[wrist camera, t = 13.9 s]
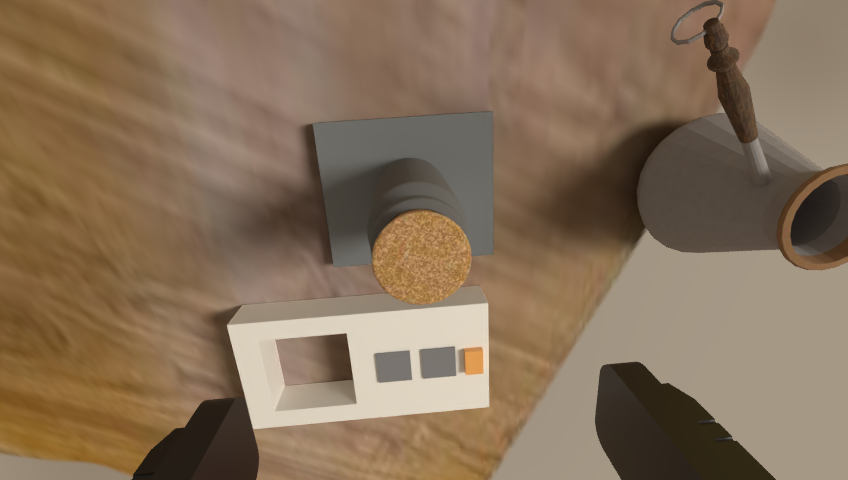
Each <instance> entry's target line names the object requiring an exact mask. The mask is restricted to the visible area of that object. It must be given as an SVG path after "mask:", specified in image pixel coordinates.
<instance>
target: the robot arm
mask: <svg viewBox="0 0 848 480" xmlns="http://www.w3.org/2000/svg"><path fill="white" fill-rule="evenodd" d="M595 425H596V431H597V435H598V438H599V441H600V443H601V445H602V448H603V450H604V451H605V453H606V455H607V456H608V458H609V459H610V461H611V463H612V465H613V466H614V468H615V470H616V471H617V473H618V475H619V476H620V478H621V480H776V479H775V478H774V477H773V476H772V475H771V474H770V473H769V472H768V471H767V470H766V469H765V468H764V467H763V466H762V465H761V464H759V462H758V461H757V460H756V459H754V458H753V456H752V455H750V454H749V453H748V452H747V451H746V450H745V449H744V448H743V447H742V446H741V445H740V444H739V443H738V442H737V441H734V440H733V439H732V436H731V435H730V434H729V433H728V432H727V431H726V430H725V429H724V428H723V427H722V426H721V425H720V424H719V423H716V422H715V419H714V418H713V417H712V416H711V415H710V414H709V413H708V412H707V411H706V410H705V409H704V408H703V407H702V406H701V405H700V404H699V403H698V402H697V401H696V400H695V399H694V398H692V397H690V396H689V395H687V394H685V393H684V392H682V391H680V390H679V389H677V388H675V387H674V386H672V385H670V384H669V383H666V384H661V383H660V382H659V381H658V380H657V379H656V378H655V377H654V376H653V374H652V373H651V372H650V371H649V370H648V369H647V368H646V367H645V366H644V365H643V364H641V363H639V362H628V363H618V364H607V365H603V366H602V368H601V370H600V376H599V386H598V396H597V406H596V415H595ZM258 465H259V453H258V448H257V444H256V440H255V436H254V432H253V428H252V424H251V420H250V416H249V412H248V408H247V405H246V402H245V400H244V399H243V398H242V397H235V398H224V399H213V400H205V401H203V402H202V403H201V404H200V405H199V407H198V408H197V410H196V411H195V413H194V414H193V416H192V417H191V419H190V420H189V422H188V423H187V425H186V426H185V428H176V429H175V430H173V431H172V432H171V433H170V434H169V435H168V436H166V437H165V438H164V439H163V440H162V441H161V442H160V443H158V444H157V445H156V446H155V447H154V448H153V449H151V450H150V452H149V453H148V455H147V456H146V458H145V459H144V460H143V462H142V463H141V465H140V466H139V467H138V469H137V470H136V472H135V473H134V474H133V479H132V480H256V478H257V473H258Z"/></svg>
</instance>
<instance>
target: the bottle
mask: <svg viewBox="0 0 848 480" xmlns="http://www.w3.org/2000/svg"><path fill="white" fill-rule="evenodd" d="M367 235H368V241H369V244H370V251H371V256H372V267H373V272H374V275H375V277H376V279H377V281H378V282H379V284H380V285H381V287H382V288H383V289H384V290H385V291H386V292H387V293H388V294H389V295H391V296H392V297H394V298H396V299H398V300H400V301H402V302H405V303H409V304H416V305H426V304H432V303H436V302H439V301H441V300H444V299H445V298H447V297H449V296H450V295H452V294H453V293H454V292H456V291H457V290H458V289H459V288H460V286H461V285H462V284H463V282H464V281H465V279H466V278H467V275H468V273H469V270H470V267H471V247H470V244H469V237H468V233H467V222H466V217H465V213H464V210H463V208H462V206H461V204H460V203H459V201H458V199H457V197H456V196H455V194H454V192H453V191H452V189H451V188H450V186H449V185H448V183H447V182H446V180H445V179H444V177H443V176H442V174H441V173H440V172H439V171H438V169H437V168H436V167H435V166H433V165H432V164H430V163H429V162H427V161H425V160H422V159H418V158H404V159H401V160H398V161H396V162H394V163H392V164H390V165H389V166H388V167H387V168H386V169H385V170H384V171H383V173H382V174H381V175H380V178H379V180H378V182H377V185H376V189H375V192H374V196H373V199H372V204H371V208H370V212H369V217H368V223H367Z"/></svg>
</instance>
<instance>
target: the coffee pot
mask: <svg viewBox="0 0 848 480" xmlns="http://www.w3.org/2000/svg"><path fill="white" fill-rule="evenodd" d="M714 4H716V5H718V6H720V7H721V8H720V13H719V14H718V16H717V17H716V18H711V19H709V20H707V21H706V22H705V23H704V25H703V28H704V30H703V31H702V32H701V33H699V34H697V35H696V36H694V37H692V38H690V39H687V40H676V39H675V38H674V35H675V31H676V30H677V28H678V26H679V25H680V23H681V22H682V21H683V20H684V19H686V18H687V17H688V16H689V15H691V14H692V13H693V12H695V11H697V10H699V9H701V8H702V7H704V6H709V5H714ZM723 11H724V3H722V2H720V1H718V0H711V1H706V2H703V3H701V4H699V5H698V6H696V7H694V8H692V9H690V10H689V11H688V12H687V13H686V14H684V15H683V16H682V17H681V18H679V19H678V21H677V22H676V24H675V26H674V27H673V29H672V32H671V40H672V41H673V42H674V43H676V44H677V45H680V44H689V43H691V42H693V41H695V40H697V39H699V38H701V37H702V36H704V44H705V47H706V48H707V49H708V50H710V53H711V56H710V58H709V59H708V61H707V67H708V69H709V70H711V71H713V72H716V78H717V87H718V98H719V100H720V102H721V104H722V106H723V108H724V110H725V112H726V113H718V114H714V115H709V116H704V117H700V118H697V119H695V120H693V121H691V122H689V123H687V124H685V125H683V126H681V127H679V128H678V129H676V130H675V131H673V132H672V133H671V134H670V135H668V136H667V137H666V138H665V139H664V140H662V141H661V142H660V143H659V144H658V146H657V147H656V148H655V149H654V151H653V152H652V153H651V154H650V156H649V157H648V159H647V161H646V163H645V165H644V167H643V169H642V171H641V174H640V178H639V182H638V187H637V206H638V209H639V212H640V215H641V218H642V221H643V224H644V225H645V227H646V228H647V229H648V231H649V232H650V234H651V235H652V236H653V237H654V238H655V239H656V240H658V241H659V242H660V243H662V244H663V245H665V246H666V247H668V248H672V249H675V250H678V251H681V252H693V253H694V252H695V253H704V252H705V253H706V252H729V251H752V250H776V249H780V251H781V252H782V254H783V256H784V257H785V258H786V259H787V260H788V261H790V262H791V263H792V264H793V265H795V266H797V267H800V268H803V269H806V270H825V269H830V268H834V267H837V266H840V265H842V264H844V263H846V262H848V164H843V165H839V166H834V167H830V168H828V169H825V170H823V169H822V168H821V167H819V166H818V165H816V164H815V163H814V162H812V161H811V160H810V159H808V158H806V157H805V156H804V155H803V154H801V153H800V152H798V151H797V150H796V149H794V148H793V147H792V146H790V145H789V144H788V143H786V142H785V141H783V140H782V139H781V138H779V137H778V136H776V135H775V134H774V133H773V132H771V131H770V130H768V129H767V128H766V127H764V126H763V125H762V124H760V123H759V122H757V121H756V120H755V114H754V109H753V103H752V98H751V92H750V87H749V85H748V83H747V82H746V80H745V79H744V78H743V76H742V74H741V72H740V71H739V69H738V67H737V66H736V62H737V61H738V59H739V51H738V50H737V49H735V48H732V47H729V45H728V43H727V42H728V38H729V35H728V33H727V31H726V29H725V28H724V26H723V24H721V23H720V21H719V20H720V19H721V17H722V15H723Z"/></svg>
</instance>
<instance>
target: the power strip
mask: <svg viewBox="0 0 848 480" xmlns="http://www.w3.org/2000/svg"><path fill="white" fill-rule="evenodd" d="M227 328H228V332H229V336H230V340H231V344H232V348H233V352H234V355H235V359H236V363H237V367H238V371H239V375H240V379H241V383H242V387H243V391H244V394H245V398H246V402H247V406H248V410H249V414H250V418H251V422H252V426H253V429H259V428H270V427H281V426H291V425H302V424H313V423H323V422H334V421H344V420H355V419H366V418H376V417H387V416H398V415H408V414H419V413H429V412H440V411H451V410H461V409H472V408H483V407H489V348H488V302H487V300H486V297H485V295H484V293H483V291H482V289H481V286H480V285H479V286H467V287H460V288H459V289H458V290H457V291H456V292H454V293H453V294H452V295H450V296H449V297H447V298H445V299H444V300H441V301H439V302H436V303H432V304H426V305H416V304H409V303H405V302H402V301H400V300H398V299H396V298H394V297H392V296H391V295H389V294H388V293H382V294H370V295H358V296H346V297H334V298H322V299H310V300H298V301H286V302H274V303H261V304H249V305H242V306H241V308H240V309H239V310H238V311H237V313H236V314H235V315H234V316H233V318H232V319H231V320H230V322H229V323H228V324H227ZM343 333H347V339H348V346H349V353H350V359H351V366H352V373H353V380H344V381H333V382H322V383H311V384H300V385H289V386H285V384H284V379H283V374H282V370H281V365H280V360H279V356H278V351H277V346H276V342H275V339H285V338H297V337H309V336H320V335H332V334H343Z"/></svg>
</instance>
